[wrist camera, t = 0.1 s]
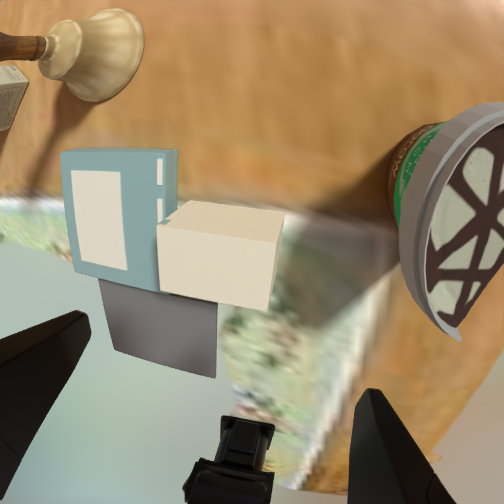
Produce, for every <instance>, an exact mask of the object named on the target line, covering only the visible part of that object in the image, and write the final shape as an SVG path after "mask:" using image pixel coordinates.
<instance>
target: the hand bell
mask: <svg viewBox="0 0 504 504" xmlns="http://www.w3.org/2000/svg"><path fill="white" fill-rule="evenodd" d="M143 50H144V34H143V29H142V26H141V24H140V22H139V20H138V19H137V17H136V16H135V15H133V14H132V13H131V12H129V11H127V10H124V9H119V8H112V9H106V10H103V11H100V12H97V13H95V14H94V15H92V16H90V17H89V18H87V19H86V20H64V21H61V22H59V23H57V24H56V25H54V26H53V27H52V28H51V29H50V30H49V31H48V32H47V33H46V35H45V36H10V35H7V34H4V33H2V32H0V62H1V61H5V60H29V61H35V60H38V66H39V69H40V72H41V73H42V75H44V76H45V77H46V78H48V79H52V80H59V81H63V82H66V84H67V86H68V88H69V89H70V91H71V92H72V93H73V94H74V95H75V96H77V97H78V98H80V99H82V100H84V101H87V102H99V101H104V100H107V99H109V98H111V97H113V96H114V95H116V94H117V93H118V92H120V91H121V90H122V89H123V88H124V87H125V86H126V85H127V84H128V83H129V81H130V80H131V78H132V77H133V75H134V74H135V72H136V70H137V68H138V66H139V64H140V61H141V58H142V54H143Z"/></svg>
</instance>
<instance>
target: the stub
mask: <svg viewBox="0 0 504 504" xmlns="http://www.w3.org/2000/svg"><path fill="white" fill-rule="evenodd" d="M284 215H285V213H281V212H274V211H268V210H261V209H253V208H246V207H239V206H231V205H224V204H216V203H208V202H199V201H191V200H189V201H188V202H187V203H185V204H184V205H183V206H181V207H180V208H179V209H177V210H176V211H175V212H174V213H172V214H171V215H170V216H168V217H167V218H166V219H163V220H162V221H161V222H159V223H158V225H157V248H158V265H159V280H160V291H165V292H170V293H174V294H179V295H184V296H188V297H193V298H198V299H203V300H208V301H213V302H219V303H224V304H229V305H234V306H240V307H245V308H251V309H257V310H262V311H267V310H268V306H269V302H270V297H271V293H272V289H273V285H274V281H275V276H276V272H277V266H278V259H279V252H280V245H281V237H282V230H283V223H284Z"/></svg>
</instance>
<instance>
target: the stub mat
mask: <svg viewBox="0 0 504 504" xmlns="http://www.w3.org/2000/svg"><path fill="white" fill-rule="evenodd" d="M98 279H99V285H100V290H101V295H102V300H103V305H104V309H105V314H106V319H107V322H108V327H109V331H110V335H111V339H112V343H113V346H114V349H115V350H116V351H120V352H123V353H125V354H128V355H131V356H135V357H138V358H141V359H144V360H147V361H151V362H154V363H157V364H161V365H164V366H168V367H171V368H175V369H179V370H183V371H186V372H190V373H194V374H198V375H202V376H206V377H210V378H215V377H216V349H217V306H218V302H213V301H208V300H203V299H198V298H193V297H188V296H183V295H179V294H174V293H170V294H169V295H167V294H163V293H158V292H154V291H149V290H145V289H141V288H137V287H132V286H128V285H124V284H120V283H116V282H112V281H108V280H104V279H100V278H98Z"/></svg>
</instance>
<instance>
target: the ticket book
mask: <svg viewBox="0 0 504 504" xmlns="http://www.w3.org/2000/svg"><path fill="white" fill-rule="evenodd" d="M60 156H61V173H62V186H63V197H64V206H65V215H66V222H67V229H68V236H69V242H70V248H71V254H72V259H73V264H74V269H75V272H78V273H81V274H85V275H89V276H92V277H97V278H100V279H104V280H108V281H112V282H116V283H120V284H124V285H128V286H132V287H137V288H141V289H145V290H149V291H154V292H158V293H163V294H167V295H169V294H170V292H165V291H160V280H159V265H158V248H157V225H158V223H159V222H161V221H162V220H163V219H166V218H167V217H168V216H170V215H171V214H172V213H174V212H175V211H176V210H177V168H178V149H157V148H75V149H71V150H67V151H64V152H60Z"/></svg>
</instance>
